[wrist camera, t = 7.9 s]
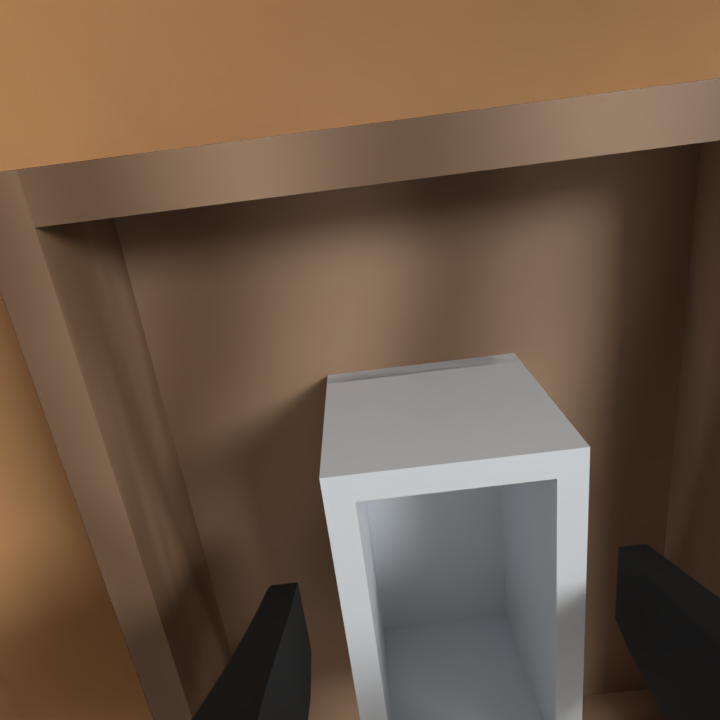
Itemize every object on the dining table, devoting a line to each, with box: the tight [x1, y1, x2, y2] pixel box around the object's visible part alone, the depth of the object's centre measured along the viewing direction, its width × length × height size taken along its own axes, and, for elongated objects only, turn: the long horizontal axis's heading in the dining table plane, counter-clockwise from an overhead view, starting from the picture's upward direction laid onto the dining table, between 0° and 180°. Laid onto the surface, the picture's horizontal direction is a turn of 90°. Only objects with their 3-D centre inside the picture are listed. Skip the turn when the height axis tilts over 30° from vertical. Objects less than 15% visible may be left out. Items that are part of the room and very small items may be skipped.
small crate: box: [319, 353, 590, 720], centre depth 14 cm, size 5×9×5 cm, turn 7°
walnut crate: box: [0, 78, 720, 720], centre depth 15 cm, size 16×20×4 cm
